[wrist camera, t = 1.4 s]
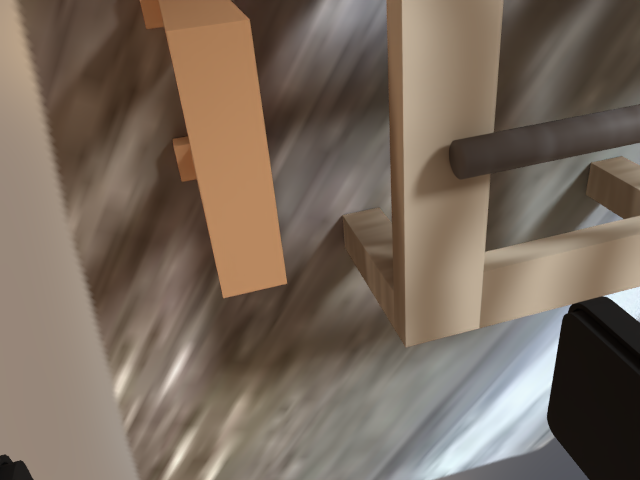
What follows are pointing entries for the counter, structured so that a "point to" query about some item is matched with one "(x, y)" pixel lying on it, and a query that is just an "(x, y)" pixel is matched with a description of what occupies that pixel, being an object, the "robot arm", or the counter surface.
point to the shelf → (480, 186)
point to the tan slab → (224, 137)
